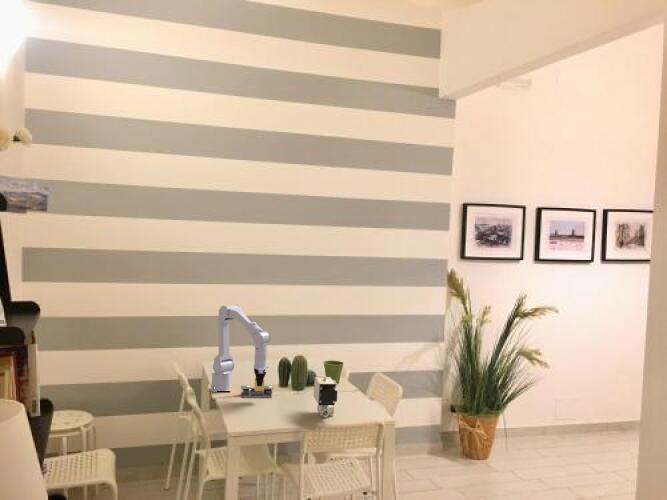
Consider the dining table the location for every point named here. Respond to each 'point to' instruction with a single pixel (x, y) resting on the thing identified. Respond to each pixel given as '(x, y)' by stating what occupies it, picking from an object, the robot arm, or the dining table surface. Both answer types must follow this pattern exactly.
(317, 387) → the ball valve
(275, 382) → the dining table surface
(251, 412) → the dining table surface
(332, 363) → the plant pot
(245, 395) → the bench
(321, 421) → the dining table surface
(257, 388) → the coupler
